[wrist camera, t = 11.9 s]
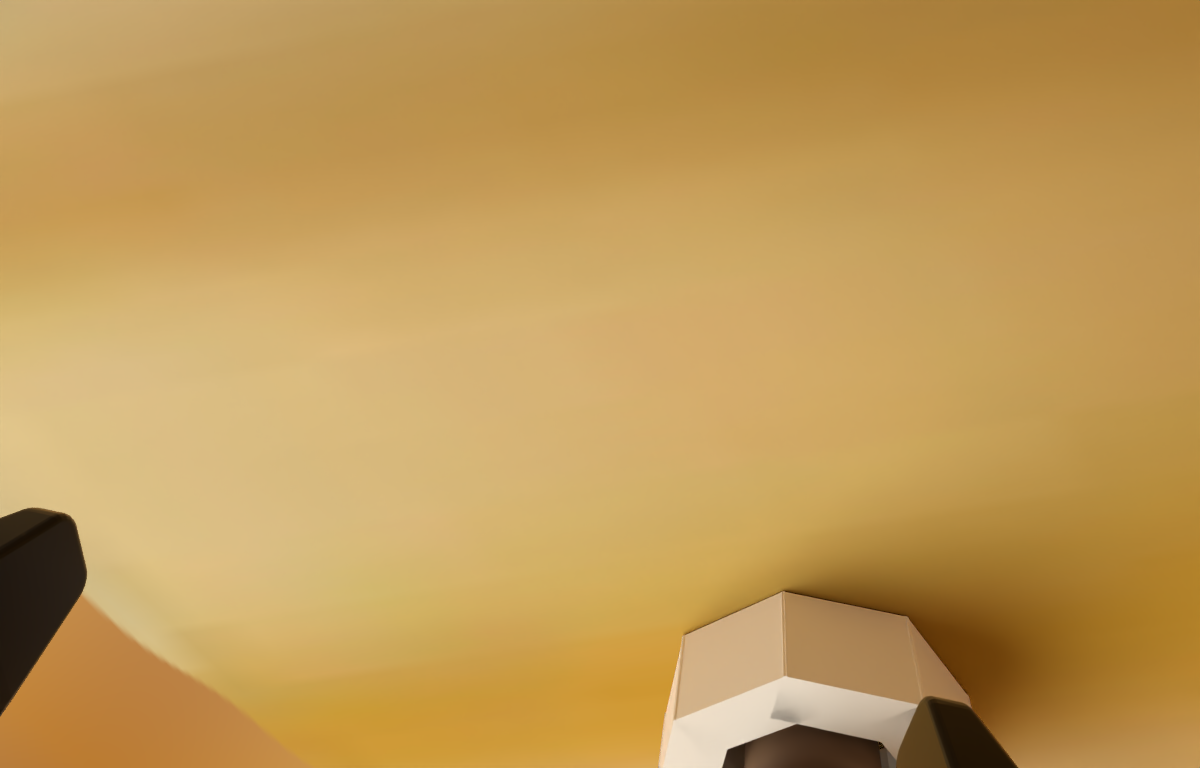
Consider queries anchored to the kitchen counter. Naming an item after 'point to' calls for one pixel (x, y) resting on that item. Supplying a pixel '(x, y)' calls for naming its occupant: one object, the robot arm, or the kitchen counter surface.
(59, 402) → the kitchen counter surface
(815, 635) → the socket collar
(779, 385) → the kitchen counter surface
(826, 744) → the walnut peg
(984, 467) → the kitchen counter surface
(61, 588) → the robot arm
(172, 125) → the kitchen counter surface
